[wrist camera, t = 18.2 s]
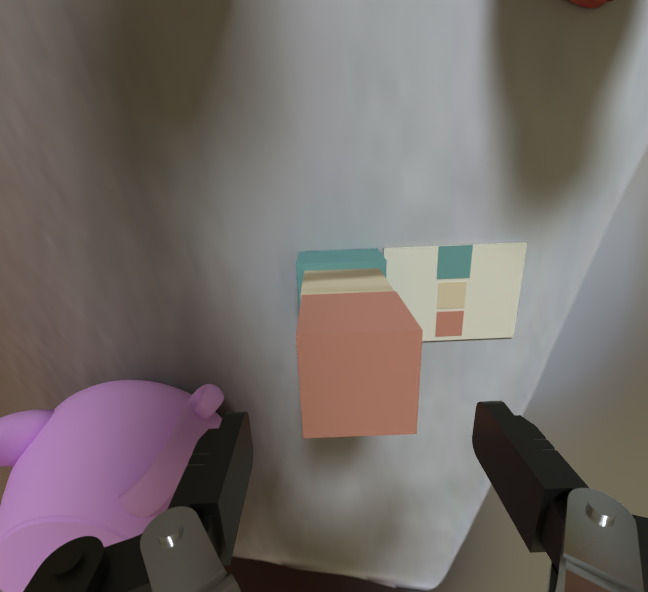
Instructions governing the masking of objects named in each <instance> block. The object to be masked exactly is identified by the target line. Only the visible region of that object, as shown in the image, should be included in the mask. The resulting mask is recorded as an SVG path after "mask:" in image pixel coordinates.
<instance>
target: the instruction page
mask: <svg viewBox="0 0 648 592" xmlns="http://www.w3.org/2000/svg"><path fill="white" fill-rule="evenodd" d="M526 248H527V242H515V243H492V244H469V245H446V246H423V247H400V248H383V256H384V258H385V259H386V260H387V265H386V279H387V281H388V282H389V284H390V285H391V286H392V288H393V289H394V291H396V292H397V293H398V295H399V296H400V298H401V299H402V301H403V302H404V304H405V305H406V306H407V308H408V309H409V311H410V312H411V314H412V315H413V317H414V318H415V320H416V321H417V323H418V324H419V325H420V327H421V328H422V330H423V334H422V341H439V340H461V339H484V338H507V337H513V336H514V329H515V322H516V316H517V309H518V302H519V295H520V289H521V282H522V275H523V268H524V262H525V255H526Z"/></svg>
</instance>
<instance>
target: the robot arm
mask: <svg viewBox="0 0 648 592" xmlns="http://www.w3.org/2000/svg"><path fill="white" fill-rule="evenodd" d="M472 443H473V449H474V452H475V455H476V457H477V459H478V460H479V462H480V464H481V466H482V468H483V469H484V471H485V473H486V475H487V476H488V478H489V480H490V482H491V484H492V485H493V487H494V489H495V491H496V492H497V494H498V496H499V498H500V500H501V501H502V503H503V505H504V507H505V508H506V510H507V512H508V514H509V515H510V517H511V519H512V521H513V523H514V524H515V526H516V528H517V530H518V532H519V533H520V535H521V537H522V539H523V540H524V542H525V544H526V546H527V548H528V549H529V551H530V552H546V553H547V554H548V556H549V557H550V559H551V564H550V568H549V575H548V584H547V592H648V518H645V517H640V516H636V515H632V514H631V513H630V512H629V511H628V509H627V508H626V507H624V506H623V505H622V504H621V503H620V502H618V501H617V500H615V499H614V498H612V497H610V496H609V495H607V494H605V493H603V492H600V491H597V490H594V489H590V488H589V487H588V486H587V485H586V484H585V483H584V481H583V480H582V479H581V478H580V477H579V476H578V474H577V473H576V472H575V471H574V470H573V469H572V468H571V467H570V465H569V464H568V463H567V462H566V461H565V460H564V458H563V457H562V456H561V455H560V454H559V452H558V451H555V449H554V447H553V446H552V444H551V443H550V442H549V441H548V440H546V438H545V436H544V435H543V434H542V433H541V432H540V431H539V429H538V428H537V427H536V426H535V425H534V424H532V423H530V422H529V421H528V420H526V419H525V418H523V417H522V416H520V415H518V416H514V414H513V413H512V412H511V411H510V409H509V408H508V407H507V406H506V405H505V403H504V402H502V401H486V402H478V403H477V406H476V412H475V420H474V428H473V435H472ZM252 461H253V445H252V438H251V430H250V423H249V416H248V413H247V412H226V413H225V414H224V416H223V418H222V421H221V423H220V426H219V428H213V429H208V430H207V431H206V432H205V433H204V434H203V435H202V436H201V437H200V438H199V439H198V441H197V443H196V446H195V448H194V450H193V452H192V455H191V457H190V459H189V461H188V465H187V466H186V468H185V470H184V473H183V475H182V477H181V479H180V482H179V484H178V486H177V488H176V491H175V493H174V495H173V497H172V500H171V502H170V504H169V506H168V508H167V510H166V511H164V512H162V513H160V514H159V515H157V516H156V517H155V518H154V519H153V520H152V521H151V522H150V523H149V524H148V525H147V526H146V528H145V530H144V531H143V533H142V534H140V535H138V536H135V537H133V538H130V539H127V540H124V541H121V542H118V543H115V544H113V545H110V546H107V547H104V546H103V543H102V542H101V540H100V539H99V538H97V537H94V536H83V537H79V538H76V539H73V540H71V541H69V542H67V543H65V544H63V545H62V546H60V547H59V548H57V549H56V550H55V551H54V552H52V553H51V554H50V555H49V556H48V557H47V558H46V559H45V560H44V561H43V562H42V564H41V565H40V566H39V568H38V569H37V571H36V572H35V574H34V575H33V577H32V578H31V580H30V582H29V583H28V585H27V586H26V588H25V589H24V591H23V592H241V591H240V588H239V587H238V584H237V582H236V581H235V579H234V577H233V576H232V574H230V573H229V574H227V573H226V571H225V569H224V568H223V566H225V565H230V562H231V558H232V553H233V549H234V544H235V540H236V535H237V531H238V526H239V522H240V517H241V513H242V508H243V504H244V499H245V495H246V490H247V486H248V481H249V477H250V472H251V467H252Z"/></svg>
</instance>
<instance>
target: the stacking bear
mask: <svg viewBox="0 0 648 592" xmlns="http://www.w3.org/2000/svg"><path fill="white" fill-rule="evenodd" d="M569 1H571V2H573V3H575V4H577V5H580V6H583V7H587V8H597V7H600V6H601V5H602V4H604V3H605V2H606V1H612V0H569Z"/></svg>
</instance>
